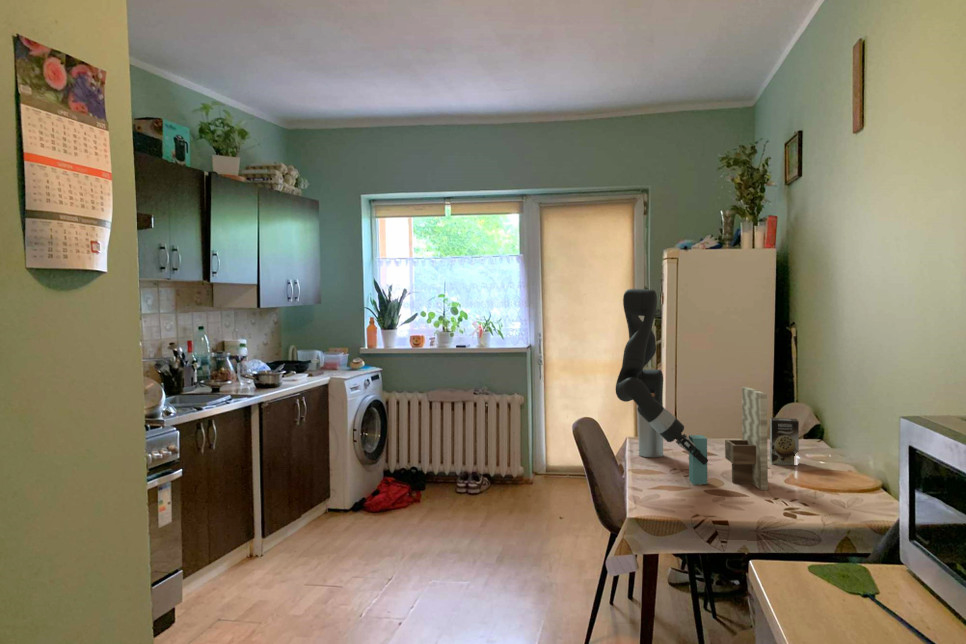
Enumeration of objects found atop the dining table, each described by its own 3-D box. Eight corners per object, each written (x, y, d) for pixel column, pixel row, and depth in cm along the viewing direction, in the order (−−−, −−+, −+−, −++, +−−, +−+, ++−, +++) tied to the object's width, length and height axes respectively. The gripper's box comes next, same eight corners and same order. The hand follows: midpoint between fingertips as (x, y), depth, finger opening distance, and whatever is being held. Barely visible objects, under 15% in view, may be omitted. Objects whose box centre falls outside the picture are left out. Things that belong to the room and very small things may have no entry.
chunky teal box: (689, 480, 221) (688, 435, 221) (703, 480, 221) (702, 435, 221) (693, 484, 216) (692, 438, 215) (707, 484, 216) (707, 438, 215)
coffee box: (771, 464, 240) (771, 420, 240) (769, 460, 246) (769, 417, 246) (799, 466, 237) (799, 421, 237) (797, 462, 243) (796, 418, 243)
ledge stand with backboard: (721, 475, 227) (720, 387, 226) (748, 475, 226) (747, 386, 225) (738, 490, 209) (737, 394, 208) (767, 490, 208) (766, 394, 207)
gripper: (679, 420, 211) (717, 457, 211) (669, 412, 226) (705, 447, 225) (662, 436, 212) (700, 474, 211) (653, 428, 226) (690, 463, 226)
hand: (703, 460), depth 218 cm, fingers open, 6 cm apart
